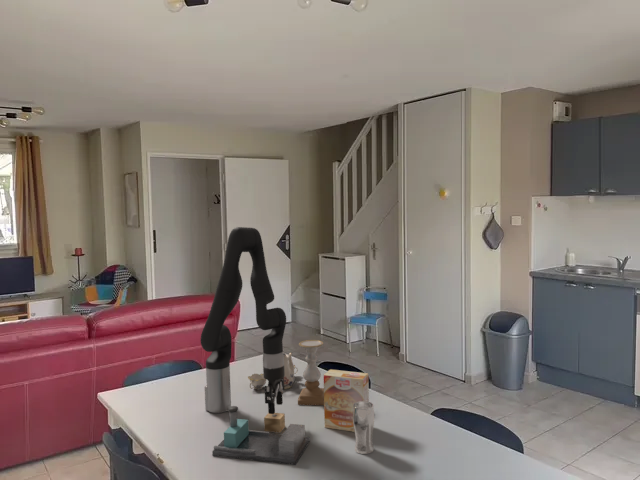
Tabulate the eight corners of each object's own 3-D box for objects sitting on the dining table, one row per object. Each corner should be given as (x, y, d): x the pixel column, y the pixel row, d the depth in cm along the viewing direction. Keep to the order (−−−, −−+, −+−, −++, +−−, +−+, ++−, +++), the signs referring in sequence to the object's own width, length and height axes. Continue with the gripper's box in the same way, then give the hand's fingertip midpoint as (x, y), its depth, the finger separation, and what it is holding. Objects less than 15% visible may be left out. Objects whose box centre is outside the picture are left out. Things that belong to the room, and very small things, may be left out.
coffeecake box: (324, 428, 184) (322, 374, 183) (330, 420, 191) (329, 368, 190) (364, 433, 179) (363, 379, 178) (369, 425, 185) (368, 372, 184)
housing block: (264, 431, 183) (264, 417, 183) (269, 425, 188) (269, 411, 187) (280, 433, 181) (280, 418, 181) (285, 426, 186) (284, 413, 186)
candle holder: (327, 395, 216) (325, 339, 214) (324, 405, 205) (323, 346, 203) (301, 395, 217) (299, 339, 215) (297, 405, 206) (295, 346, 205)
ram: (222, 447, 167) (221, 414, 167) (236, 432, 178) (235, 401, 177) (235, 448, 166) (234, 415, 165) (248, 433, 177) (247, 402, 176)
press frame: (212, 455, 166) (211, 436, 165) (233, 434, 181) (232, 416, 181) (295, 464, 159) (294, 444, 158) (309, 441, 174) (309, 422, 174)
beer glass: (351, 445, 170) (351, 401, 169) (372, 444, 171) (371, 400, 170) (355, 455, 163) (354, 409, 162) (376, 454, 164) (375, 408, 163)
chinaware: (285, 376, 247) (281, 341, 247) (312, 378, 237) (308, 343, 237) (243, 394, 224) (239, 356, 224) (272, 398, 214) (268, 358, 214)
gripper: (270, 358, 191) (272, 401, 192) (256, 370, 177) (258, 416, 178) (289, 358, 189) (291, 402, 190) (277, 371, 175) (279, 417, 176)
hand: (275, 408), depth 184 cm, fingers open, 8 cm apart
